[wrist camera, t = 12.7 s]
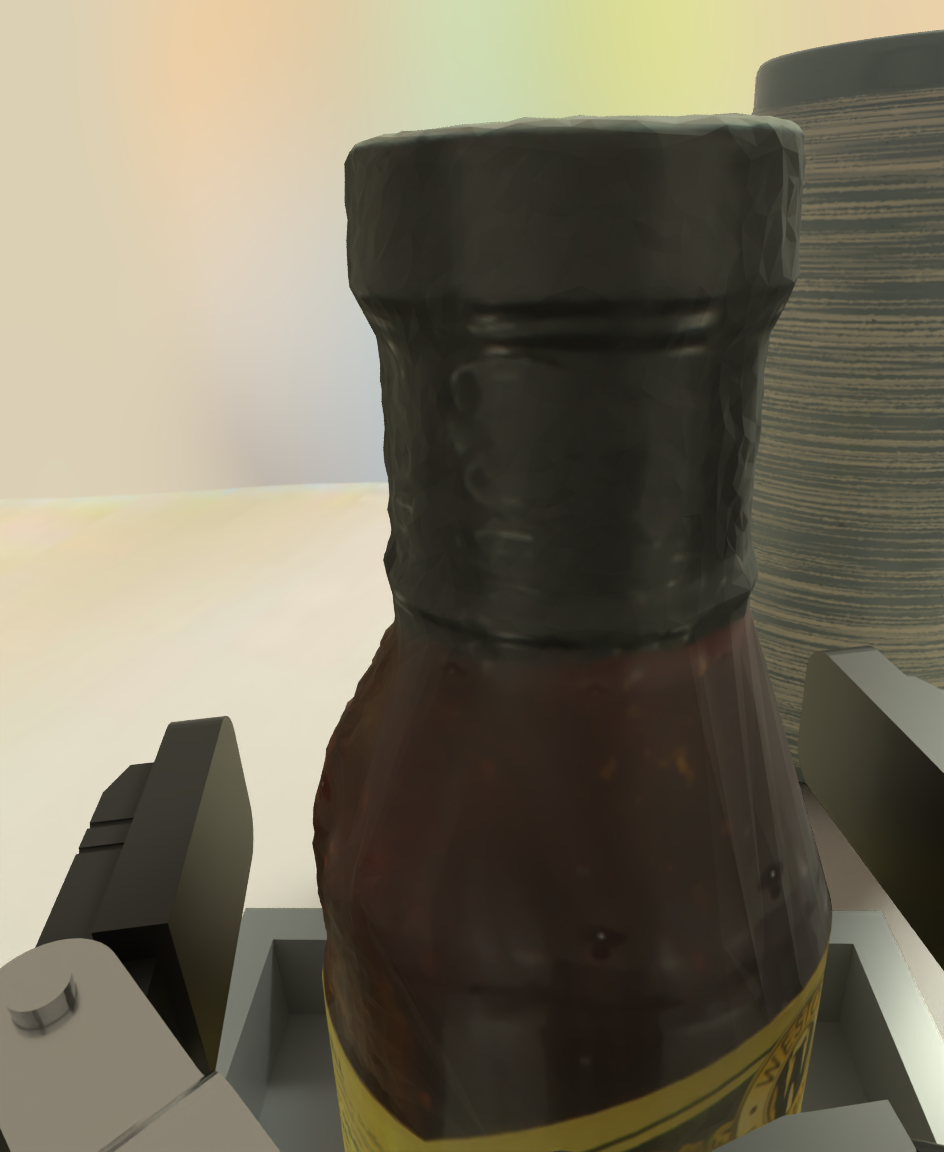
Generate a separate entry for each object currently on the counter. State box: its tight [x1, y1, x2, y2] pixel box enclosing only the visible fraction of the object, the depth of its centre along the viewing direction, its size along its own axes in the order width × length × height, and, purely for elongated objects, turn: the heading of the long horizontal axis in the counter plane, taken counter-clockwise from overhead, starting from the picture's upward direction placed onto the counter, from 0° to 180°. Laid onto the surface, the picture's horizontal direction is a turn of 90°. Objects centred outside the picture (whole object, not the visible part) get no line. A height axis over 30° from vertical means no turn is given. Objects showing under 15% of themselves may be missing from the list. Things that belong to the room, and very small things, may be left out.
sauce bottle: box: [312, 113, 832, 1152], centre depth 11 cm, size 7×6×20 cm
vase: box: [750, 30, 944, 784], centre depth 29 cm, size 12×12×23 cm
